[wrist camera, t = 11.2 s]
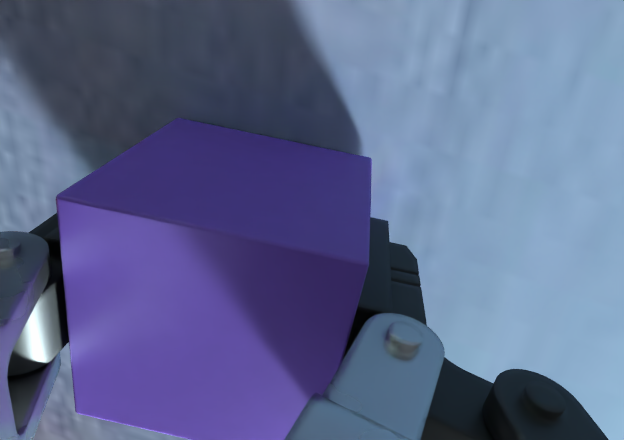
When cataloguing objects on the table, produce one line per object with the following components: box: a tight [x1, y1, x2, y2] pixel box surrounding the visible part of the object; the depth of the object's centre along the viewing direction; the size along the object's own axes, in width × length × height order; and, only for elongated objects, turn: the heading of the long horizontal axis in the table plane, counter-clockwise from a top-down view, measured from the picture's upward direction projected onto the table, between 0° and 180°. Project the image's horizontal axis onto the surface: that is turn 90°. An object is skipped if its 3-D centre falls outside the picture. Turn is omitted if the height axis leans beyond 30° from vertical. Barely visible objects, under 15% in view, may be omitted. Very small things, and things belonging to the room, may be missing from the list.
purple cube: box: [56, 118, 372, 440], centre depth 9 cm, size 4×4×4 cm
